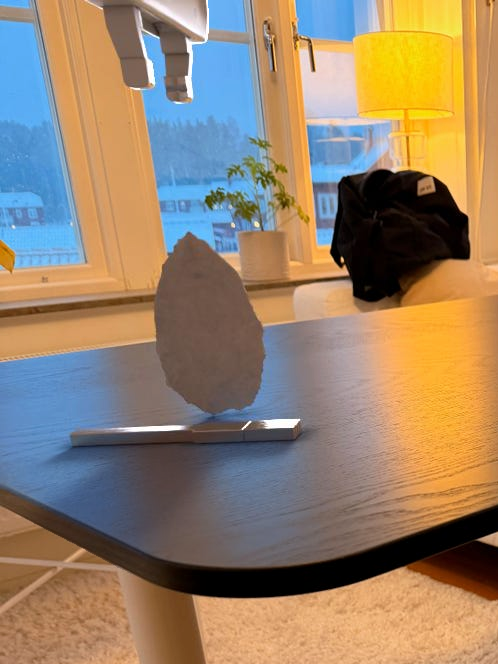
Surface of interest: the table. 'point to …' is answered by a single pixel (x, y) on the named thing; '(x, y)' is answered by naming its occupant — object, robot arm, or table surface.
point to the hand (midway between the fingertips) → (162, 96)
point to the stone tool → (207, 329)
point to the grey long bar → (191, 433)
